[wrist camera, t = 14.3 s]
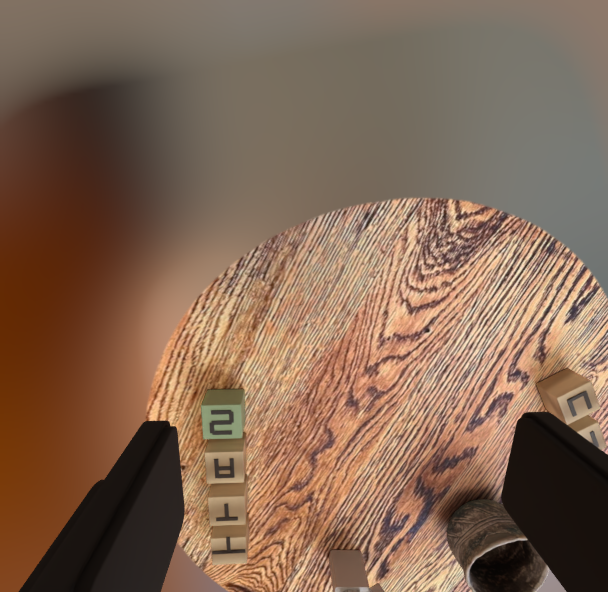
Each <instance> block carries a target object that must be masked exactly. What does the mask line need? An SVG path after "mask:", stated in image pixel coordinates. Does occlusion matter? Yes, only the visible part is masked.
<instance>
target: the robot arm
mask: <svg viewBox="0 0 608 592" xmlns="http://www.w3.org/2000/svg"><path fill="white" fill-rule="evenodd" d="M501 498H502V503H503V506H504V508H505V510H506V511H507V513H508V514H509V516H510V517H511V518H512V519H513V521H514V522H515V523H516V525H517V526H518V527H519V529H520V530H521V531H522V533H523V534H524V535H525V537H526V538H527V539H528V541H529V542H530V543H531V545H532V546H533V547H534V549H535V550H536V551H537V553H538V554H539V555H540V557H541V558H542V559H543V561H544V562H545V563H546V565H547V566H548V567H549V569H550V570H551V571H552V573H553V574H554V575H555V577H556V578H557V579H558V581H559V582H560V583H561V585H562V586H563V587H564V589H565V590H566V591H567V592H608V455H607V454H606V453H604V452H603V451H602V450H600V449H599V448H598V447H596V446H595V445H593V444H592V443H591V442H589V441H588V440H587V439H585V438H584V437H583V436H581V435H580V434H579V433H577V432H576V431H575V430H573V429H572V428H571V427H569V426H568V425H567V424H565V423H564V422H562V421H561V420H560V419H558V418H557V417H556V416H554V415H553V414H551V413H549V412H527V413H524V414H523V415H522V417H521V418H520V419H519V420H518V421H517V425H516V429H515V434H514V439H513V443H512V448H511V453H510V457H509V462H508V467H507V471H506V476H505V481H504V485H503V490H502V495H501ZM183 519H184V497H183V487H182V476H181V466H180V455H179V445H178V434H177V428H176V427H175V426H172V427H170V423H169V421H145V422H144V423H143V424H142V425H141V427H140V428H139V429H138V431H137V432H136V434H135V435H134V437H133V438H132V440H131V441H130V443H129V444H128V446H127V447H126V449H125V450H124V452H123V453H122V454H121V456H120V457H119V459H118V460H117V462H116V463H115V465H114V466H113V468H112V469H111V471H110V472H109V474H108V475H107V477H106V478H105V480H100V481H98V482H97V483H96V484H95V485H94V486H93V487H92V488H91V490H90V491H89V492H88V494H87V495H86V497H85V498H84V500H83V501H82V502H81V504H80V505H79V507H78V508H77V509H76V511H75V512H74V514H73V515H72V517H71V518H70V520H69V521H68V522H67V524H66V525H65V527H64V528H63V529H62V531H61V532H60V534H59V535H58V537H57V538H56V540H55V541H54V542H53V544H52V545H51V546H50V548H49V549H48V551H47V552H46V554H45V555H44V556H43V558H42V560H41V561H40V562H39V564H38V565H37V566H36V568H35V569H34V571H33V572H32V574H31V575H30V576H29V578H28V579H27V581H26V582H25V584H24V585H23V587H22V588H21V589H20V591H19V592H161V589H162V585H163V583H164V579H165V576H166V573H167V570H168V567H169V564H170V561H171V558H172V555H173V552H174V549H175V546H176V543H177V540H178V537H179V534H180V531H181V527H182V524H183Z"/></svg>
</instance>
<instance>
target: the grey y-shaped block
mask: <svg viewBox="0 0 608 592" xmlns="http://www.w3.org/2000/svg"><path fill="white" fill-rule="evenodd" d="M329 563H330V571H331V579H332V586H333V592H384V590H383V589H382V587H381V586H380V584H379V583H377V584H375V585H374V586H372V587H371V588H369V584H368V580H367V575H366V571H365V567H364V562H363V558H362V554H361V551H360V550H331V551H330V555H329Z"/></svg>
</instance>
